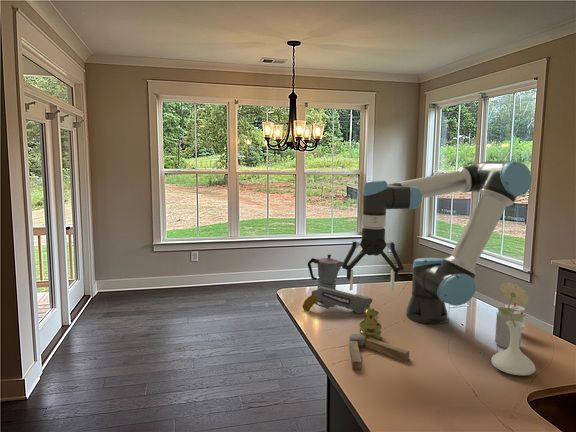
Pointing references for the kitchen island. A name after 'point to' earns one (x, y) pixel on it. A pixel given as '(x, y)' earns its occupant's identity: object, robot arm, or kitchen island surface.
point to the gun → (337, 300)
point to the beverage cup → (516, 307)
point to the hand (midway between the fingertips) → (371, 289)
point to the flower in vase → (513, 337)
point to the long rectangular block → (387, 349)
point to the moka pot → (326, 271)
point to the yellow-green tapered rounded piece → (370, 325)
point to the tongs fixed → (356, 349)
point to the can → (505, 327)
